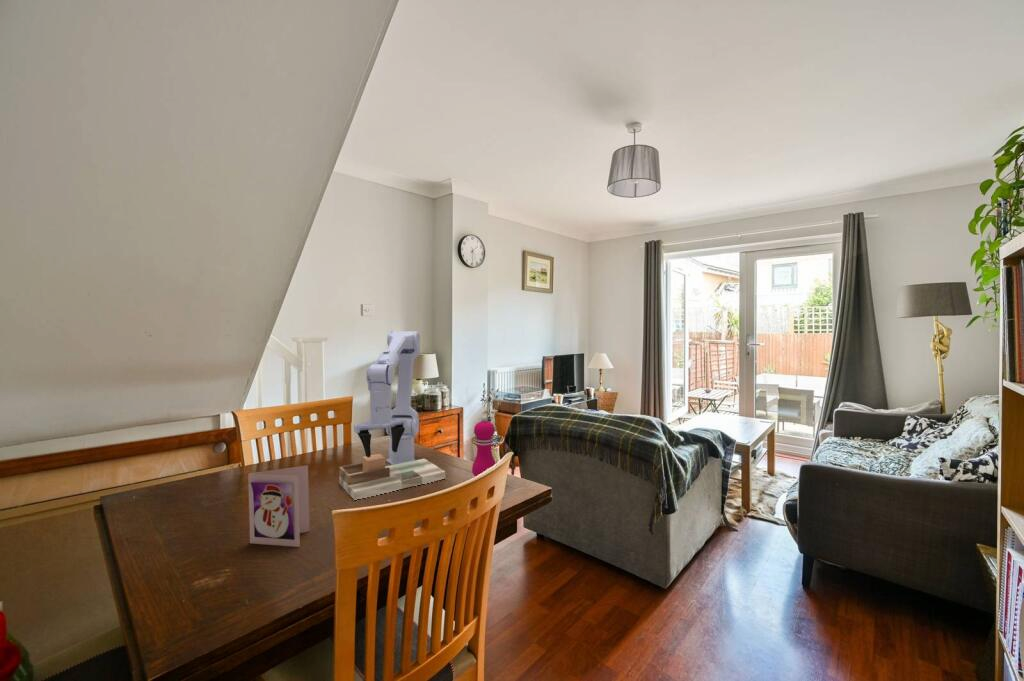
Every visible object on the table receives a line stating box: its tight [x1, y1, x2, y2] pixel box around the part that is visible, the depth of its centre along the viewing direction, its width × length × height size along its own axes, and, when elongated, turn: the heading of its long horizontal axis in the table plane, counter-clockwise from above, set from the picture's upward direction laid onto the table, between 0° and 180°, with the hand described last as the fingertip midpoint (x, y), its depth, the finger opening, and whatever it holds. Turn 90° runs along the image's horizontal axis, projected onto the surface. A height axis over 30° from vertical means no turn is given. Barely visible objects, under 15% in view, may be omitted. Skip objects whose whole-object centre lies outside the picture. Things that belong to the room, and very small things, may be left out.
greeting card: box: [247, 465, 310, 548], centre depth 93 cm, size 11×7×15 cm, turn 82°
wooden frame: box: [338, 462, 390, 485], centre depth 124 cm, size 10×12×2 cm
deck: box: [338, 458, 446, 501], centre depth 127 cm, size 15×26×2 cm, turn 126°
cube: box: [362, 453, 386, 472], centre depth 126 cm, size 5×5×5 cm
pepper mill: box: [471, 415, 497, 477], centre depth 124 cm, size 7×7×20 cm
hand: (381, 453), depth 122 cm, fingers open, 7 cm apart
